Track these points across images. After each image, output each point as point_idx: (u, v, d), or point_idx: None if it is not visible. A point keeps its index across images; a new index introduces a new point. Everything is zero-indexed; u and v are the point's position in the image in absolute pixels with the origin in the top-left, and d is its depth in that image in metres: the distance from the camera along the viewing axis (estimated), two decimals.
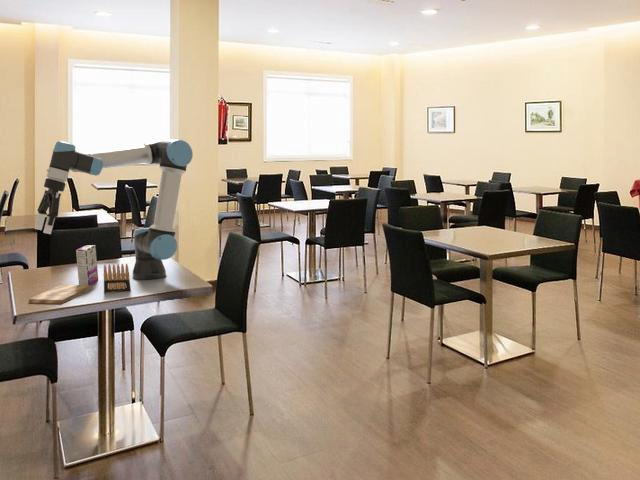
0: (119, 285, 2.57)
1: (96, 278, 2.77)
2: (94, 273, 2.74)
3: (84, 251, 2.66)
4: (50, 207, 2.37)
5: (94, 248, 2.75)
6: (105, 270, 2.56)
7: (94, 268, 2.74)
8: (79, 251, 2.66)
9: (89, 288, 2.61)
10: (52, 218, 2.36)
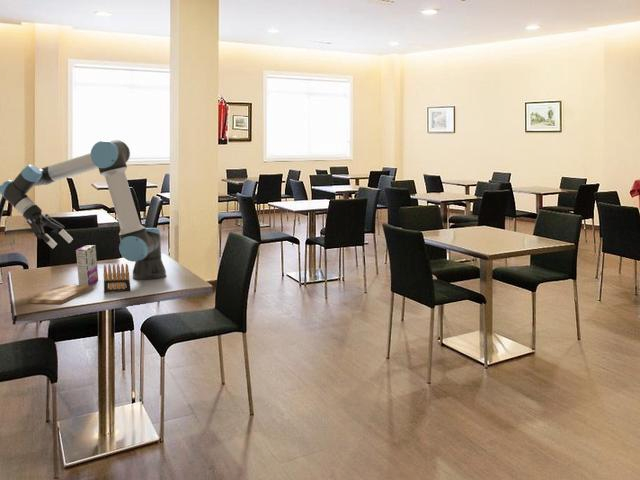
0: (119, 285, 2.57)
1: (96, 278, 2.77)
2: (94, 273, 2.74)
3: (84, 251, 2.66)
4: None
5: (94, 248, 2.75)
6: (105, 270, 2.56)
7: (94, 268, 2.74)
8: (79, 251, 2.66)
9: (89, 288, 2.61)
10: (42, 236, 2.63)
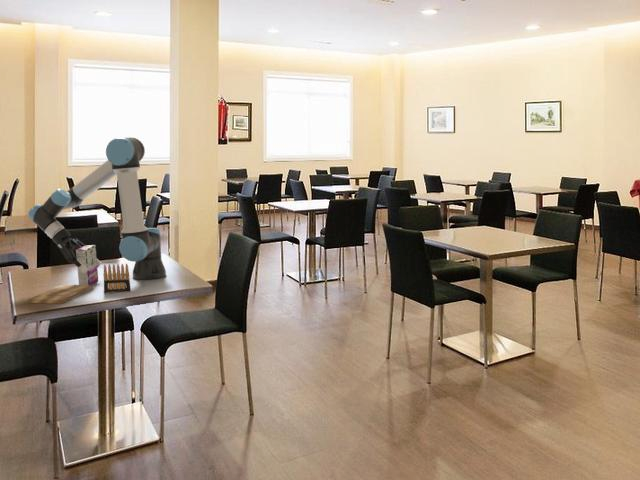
0: (119, 285, 2.57)
1: (96, 278, 2.77)
2: (94, 273, 2.74)
3: (84, 251, 2.66)
4: None
5: (94, 248, 2.75)
6: (105, 270, 2.56)
7: (94, 268, 2.74)
8: (79, 251, 2.66)
9: (89, 288, 2.61)
10: (74, 261, 2.65)
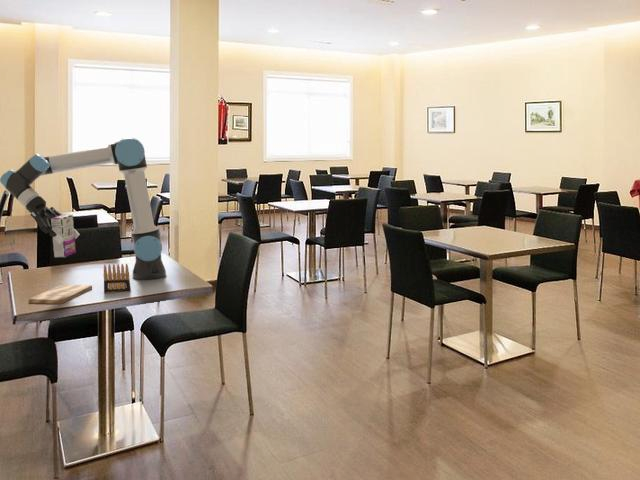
0: (119, 285, 2.57)
1: (73, 250, 2.57)
2: (71, 245, 2.55)
3: (60, 220, 2.46)
4: None
5: (71, 218, 2.56)
6: (105, 270, 2.56)
7: (71, 239, 2.55)
8: (54, 220, 2.46)
9: (89, 288, 2.61)
10: (49, 230, 2.45)
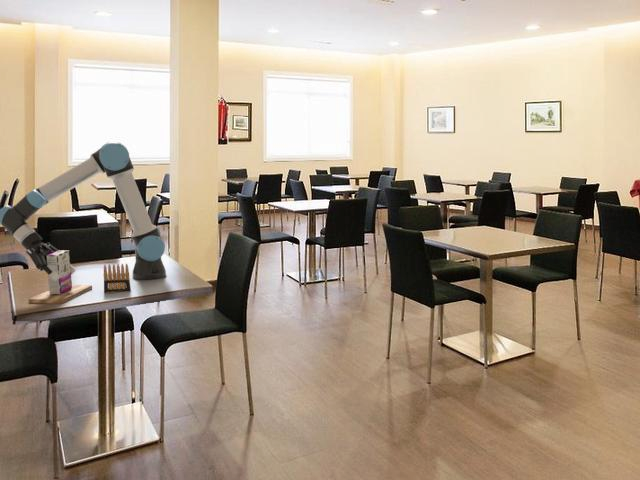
0: (119, 285, 2.57)
1: (69, 286, 2.55)
2: (67, 281, 2.53)
3: (55, 257, 2.44)
4: None
5: (67, 253, 2.54)
6: (105, 270, 2.56)
7: (67, 275, 2.53)
8: (50, 257, 2.44)
9: (89, 288, 2.61)
10: (44, 268, 2.43)
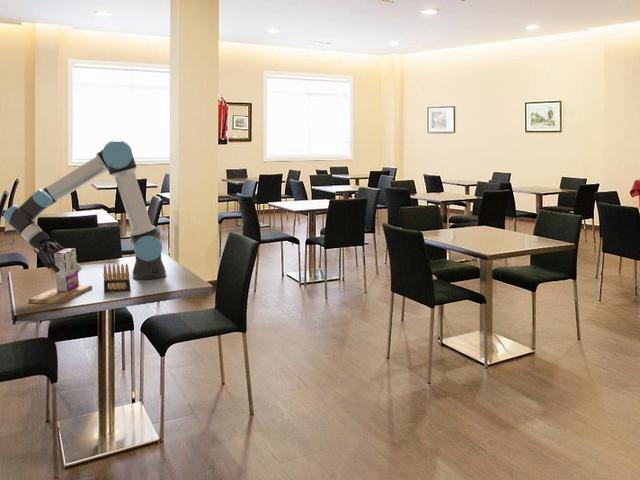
0: (119, 285, 2.57)
1: (76, 283, 2.60)
2: (74, 278, 2.57)
3: (62, 255, 2.49)
4: None
5: (74, 251, 2.58)
6: (105, 270, 2.56)
7: (74, 272, 2.57)
8: (57, 255, 2.49)
9: (89, 288, 2.61)
10: (52, 266, 2.48)
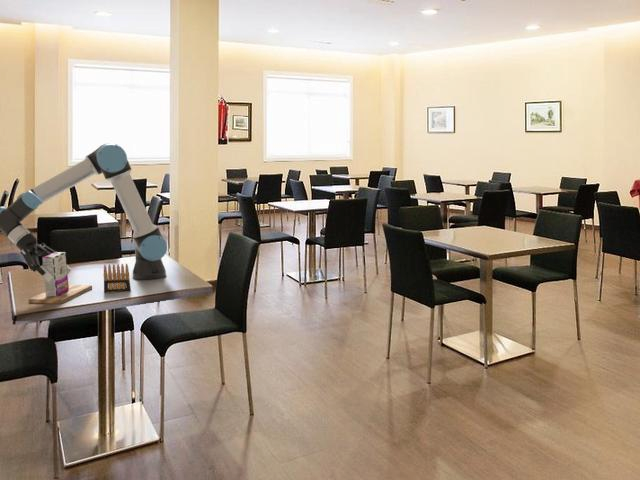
0: (119, 285, 2.57)
1: (66, 288, 2.52)
2: (64, 283, 2.50)
3: (51, 259, 2.41)
4: None
5: (64, 255, 2.50)
6: (105, 270, 2.56)
7: (63, 277, 2.49)
8: (46, 259, 2.41)
9: (89, 288, 2.61)
10: (37, 269, 2.39)
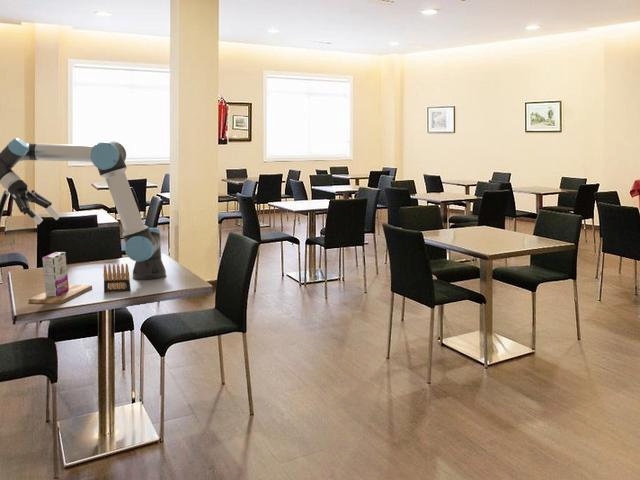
0: (119, 285, 2.57)
1: (66, 288, 2.52)
2: (64, 283, 2.50)
3: (51, 259, 2.41)
4: None
5: (64, 255, 2.50)
6: (105, 270, 2.56)
7: (63, 277, 2.49)
8: (46, 259, 2.41)
9: (89, 288, 2.61)
10: (27, 212, 2.53)
